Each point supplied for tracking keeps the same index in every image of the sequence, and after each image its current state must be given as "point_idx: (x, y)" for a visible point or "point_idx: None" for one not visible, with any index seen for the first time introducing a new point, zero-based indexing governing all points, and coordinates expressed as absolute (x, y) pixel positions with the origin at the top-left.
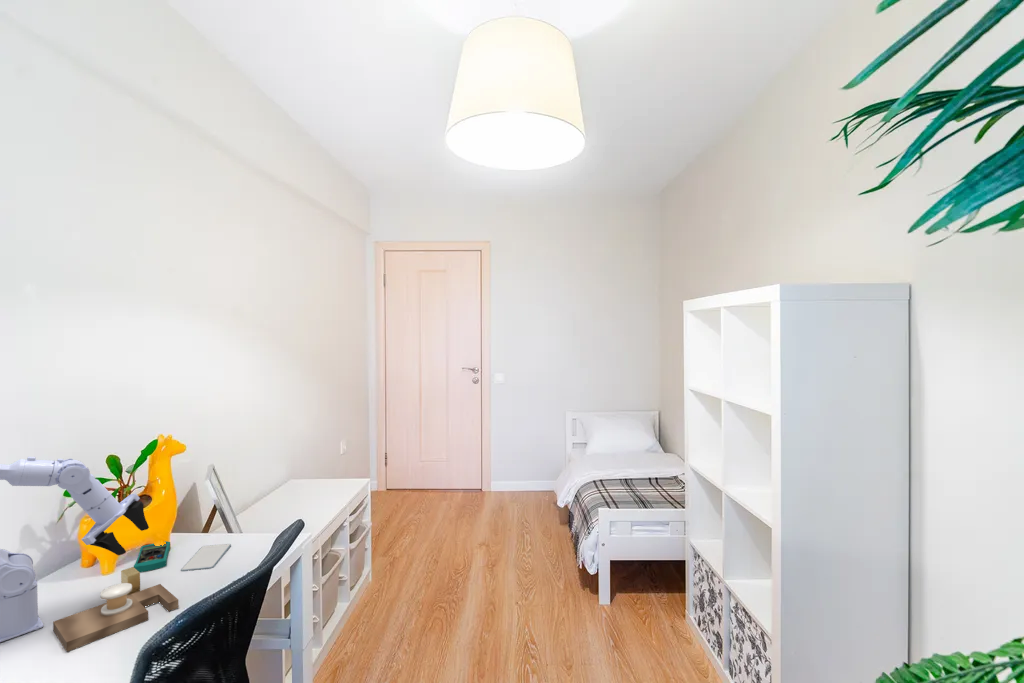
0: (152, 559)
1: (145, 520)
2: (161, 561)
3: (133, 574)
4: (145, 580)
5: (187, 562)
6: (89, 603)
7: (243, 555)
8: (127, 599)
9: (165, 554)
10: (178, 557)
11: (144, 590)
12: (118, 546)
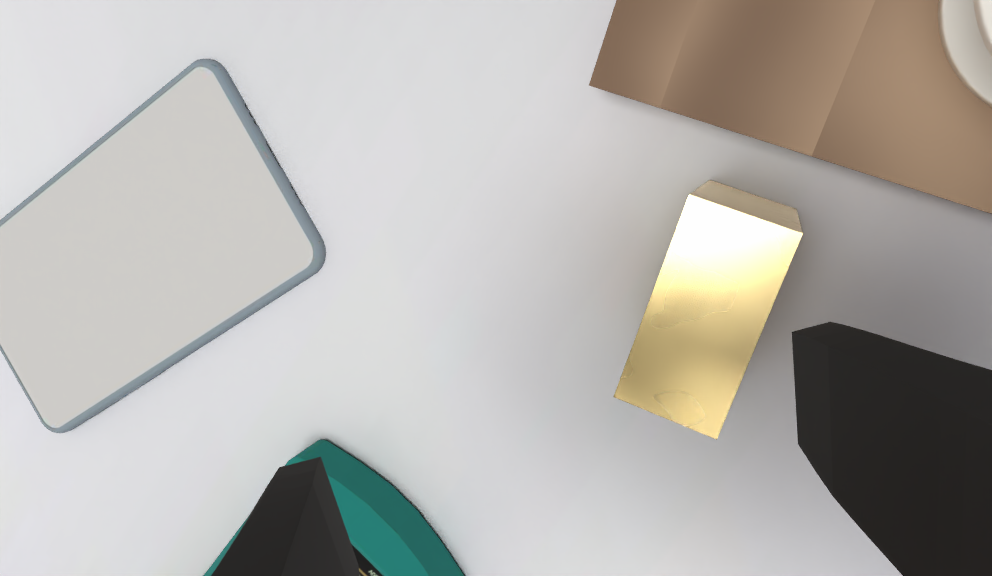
0: None
1: (234, 554)
2: None
3: (743, 220)
4: (514, 390)
5: (233, 317)
6: None
7: (11, 18)
8: (961, 9)
9: None
10: (204, 473)
11: (721, 103)
12: (953, 375)
